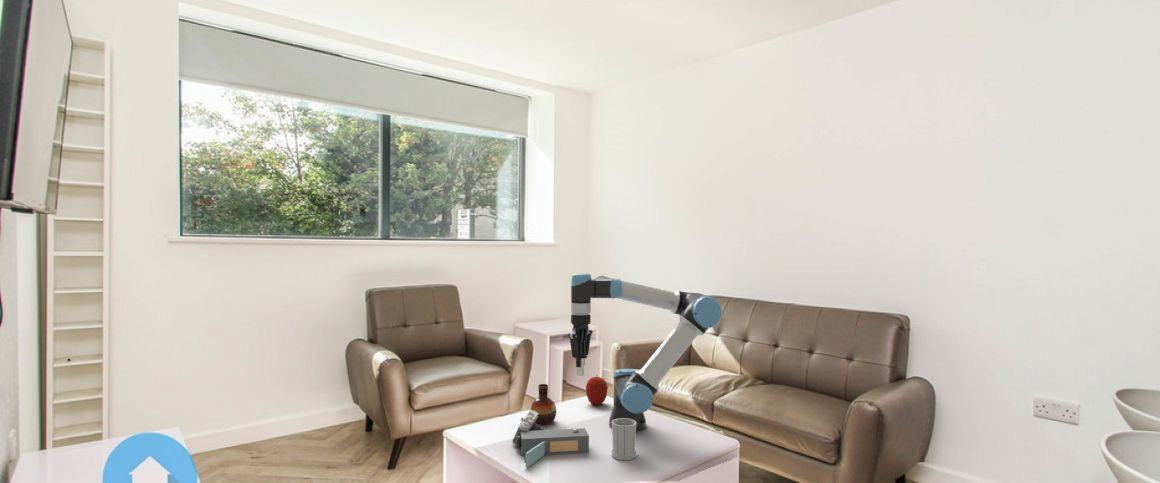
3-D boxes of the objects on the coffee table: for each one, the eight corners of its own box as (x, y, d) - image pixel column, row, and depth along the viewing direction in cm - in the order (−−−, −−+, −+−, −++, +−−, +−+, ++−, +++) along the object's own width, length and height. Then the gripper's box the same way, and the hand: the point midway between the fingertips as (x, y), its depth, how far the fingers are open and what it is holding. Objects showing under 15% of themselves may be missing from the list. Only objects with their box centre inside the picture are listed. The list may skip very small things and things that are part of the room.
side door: (527, 467, 185) (527, 453, 184) (524, 467, 185) (524, 452, 185) (546, 454, 196) (546, 440, 196) (543, 453, 197) (543, 440, 197)
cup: (610, 449, 202) (611, 416, 202) (635, 449, 202) (636, 416, 202) (611, 460, 192) (611, 426, 192) (637, 461, 192) (638, 426, 192)
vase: (555, 426, 226) (555, 389, 226) (528, 426, 226) (528, 388, 226) (556, 418, 237) (557, 381, 237) (531, 417, 237) (531, 381, 237)
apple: (607, 408, 251) (607, 377, 251) (585, 407, 252) (585, 377, 252) (607, 401, 262) (607, 372, 261) (586, 401, 262) (586, 371, 262)
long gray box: (584, 444, 207) (585, 426, 207) (588, 452, 199) (589, 433, 199) (515, 447, 203) (516, 429, 203) (517, 456, 195) (517, 437, 195)
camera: (508, 443, 204) (519, 418, 203) (521, 426, 220) (531, 404, 219) (530, 455, 203) (542, 430, 201) (542, 437, 218) (552, 415, 217)
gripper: (582, 311, 220) (582, 370, 220) (562, 314, 209) (562, 377, 209) (598, 312, 216) (597, 373, 216) (578, 316, 205) (578, 380, 205)
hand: (580, 375), depth 213 cm, fingers closed
